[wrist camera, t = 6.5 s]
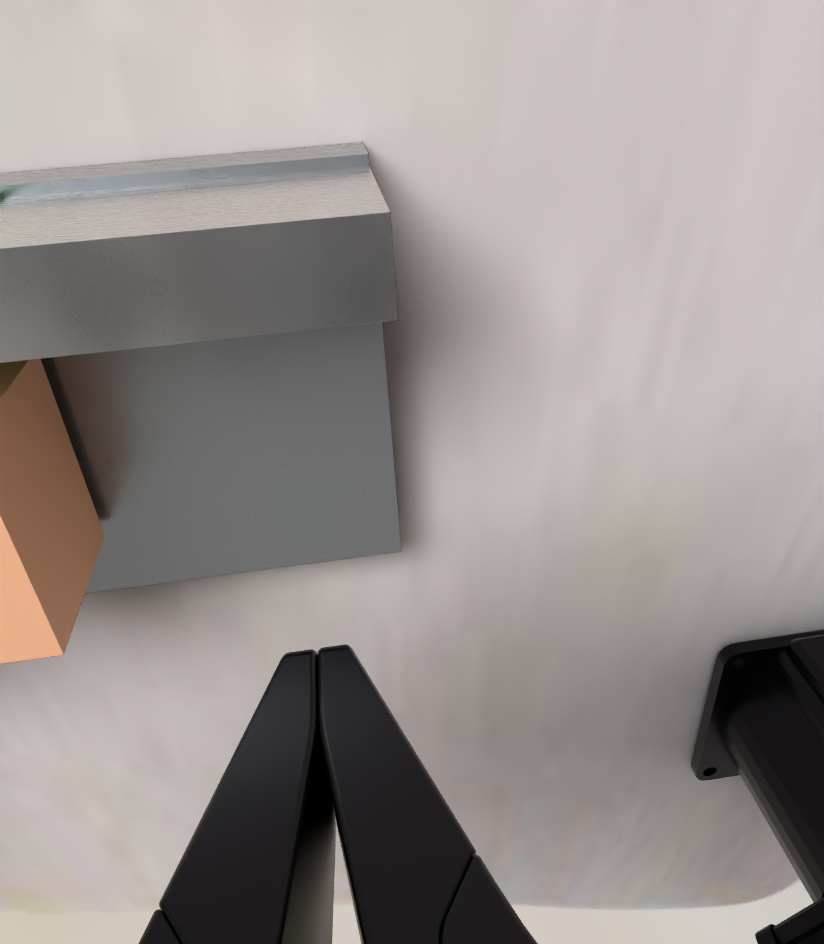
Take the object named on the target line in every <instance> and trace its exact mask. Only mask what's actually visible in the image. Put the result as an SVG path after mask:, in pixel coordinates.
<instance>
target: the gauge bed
mask: <svg viewBox="0 0 824 944" xmlns="http://www.w3.org/2000/svg"><path fill="white" fill-rule="evenodd" d="M390 321H398V314H397V300H396V286H395V272H394V258H393V243H392V229H391V215H390V210H389V208H388V206H387V204H386V202H385V199H384V197H383V195H382V193H381V191H380V188H379V186H378V184H377V182H376V180H375V177H374V175H373V173H372V171H371V169H370V167H369V157H368V152H367V150H366V148H365V146H364V144H363V142H361V143H350V144H338V145H326V146H314V147H303V148H291V149H279V150H267V151H256V152H244V153H232V154H221V155H209V156H197V157H185V158H174V159H162V160H150V161H139V162H127V163H115V164H103V165H92V166H80V167H68V168H57V169H45V170H33V171H21V172H10V173H0V363H4V362H13V361H22V360H32V359H41V362H42V365H43V367H44V370H45V373H46V376H47V378H48V381H49V384H50V387H51V389H52V392H53V395H54V398H55V400H56V403H57V406H58V409H59V411H60V414H61V417H62V420H63V422H64V425H65V428H66V431H67V433H68V436H69V439H70V442H71V444H72V447H73V450H74V453H75V455H76V458H77V461H78V464H79V466H80V469H81V472H82V474H83V477H84V480H85V483H86V485H87V488H88V491H89V494H90V496H91V499H92V502H93V505H94V507H95V510H96V513H97V516H98V518H99V521H100V524H101V527H102V529H103V532H104V538H103V541H102V544H101V547H100V550H99V553H98V556H97V559H96V562H95V565H94V567H93V570H92V573H91V576H90V579H89V582H88V585H87V588H86V591H85V593H92V592H99V591H107V590H115V589H122V588H130V587H137V586H145V585H152V584H160V583H167V582H175V581H182V580H190V579H198V578H205V577H213V576H220V575H228V574H235V573H243V572H250V571H258V570H265V569H273V568H281V567H288V566H296V565H303V564H311V563H318V562H326V561H333V560H341V559H348V558H356V557H363V556H371V555H379V554H386V553H394V552H401V541H400V529H399V517H398V505H397V493H396V481H395V469H394V457H393V445H392V433H391V421H390V409H389V397H388V385H387V373H386V361H385V349H384V337H383V325H382V322H390Z"/></svg>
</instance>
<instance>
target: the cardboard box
mask: <svg viewBox="0 0 824 944" xmlns="http://www.w3.org/2000/svg"><path fill="white" fill-rule="evenodd" d="M103 538H104V532H103V529H102V527H101V524H100V521H99V518H98V516H97V513H96V510H95V507H94V505H93V502H92V499H91V496H90V494H89V491H88V488H87V485H86V483H85V480H84V477H83V474H82V472H81V469H80V466H79V464H78V461H77V458H76V455H75V453H74V450H73V447H72V444H71V442H70V439H69V436H68V433H67V431H66V428H65V425H64V422H63V420H62V417H61V414H60V411H59V409H58V406H57V403H56V400H55V398H54V395H53V392H52V389H51V387H50V384H49V381H48V378H47V376H46V373H45V370H44V367H43V365H42V362H41V359H32V360H22V361H13V362H4V363H0V664H1V663H8V662H15V661H22V660H29V659H37V658H44V657H51V656H58V655H64V652H65V649H66V646H67V643H68V640H69V637H70V635H71V632H72V629H73V626H74V623H75V620H76V617H77V614H78V611H79V608H80V605H81V602H82V600H83V597H84V594H85V591H86V588H87V585H88V582H89V579H90V576H91V573H92V570H93V567H94V565H95V562H96V559H97V556H98V553H99V550H100V547H101V544H102V541H103Z"/></svg>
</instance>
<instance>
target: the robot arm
mask: <svg viewBox="0 0 824 944" xmlns="http://www.w3.org/2000/svg"><path fill="white" fill-rule="evenodd" d="M691 768H692V769H693V771H694V773H695V775H696V777H697V778H698V779H699V780H712V779H718V778H724V777H730V776H736V775H741V777H742V779H743V780H744V782H745V784H746V786H747V787H748V789H749V791H750V793H751V794H752V796H753V798H754V800H755V801H756V803H757V805H758V807H759V808H760V810H761V812H762V813H763V815H764V817H765V819H766V820H767V822H768V824H769V826H770V827H771V829H772V831H773V833H774V834H775V836H776V838H777V840H778V841H779V843H780V845H781V847H782V848H783V850H784V852H785V853H786V855H787V857H788V859H789V860H790V862H791V864H792V866H793V867H794V869H795V871H796V873H797V874H798V876H799V878H800V880H801V881H802V883H803V885H804V886H805V888H806V890H807V892H808V893H809V895H810V897H811V899H812V900H813V902H814V903H813V904H811V905H809V906H808V907H806V908H804V909H803V910H801V911H799V912H798V913H796V914H794V915H793V916H791V917H789V918H788V919H786V920H784V921H783V922H781V923H780V924H778V925H776V926H775V925H772V924H770V925H768V926H767V927H765V928H763V929H762V930H760V931H758V932H757V933H756V934H755V936H756V939H757V942H758V944H824V630H821V631H814V632H808V633H801V634H794V635H788V636H781V637H774V638H767V639H761V640H754V641H747V642H741V643H735V644H731V645H729V646H727V647H725V648H724V649H723V650H722V651H721V652H720V653H719V655H718V657H717V661H716V665H715V669H714V673H713V677H712V682H711V686H710V690H709V694H708V698H707V702H706V706H705V710H704V714H703V718H702V722H701V726H700V730H699V734H698V738H697V742H696V746H695V750H694V754H693V758H692V762H691ZM335 817H336V821H335ZM336 822H337V827H338V832H339V837H340V842H341V847H342V852H343V857H344V861H345V866H346V871H347V876H348V881H349V886H350V890H351V895H352V900H353V905H354V910H355V914H356V919H357V924H358V929H359V934H360V939H361V944H537V943H536V941H535V940H534V938H533V937H532V936H531V934H530V933H529V932H528V930H527V929H526V927H525V926H524V925H523V923H522V922H521V920H520V919H519V917H518V916H517V914H516V913H515V911H514V910H513V908H512V907H511V905H510V904H509V902H508V901H507V899H506V897H505V896H504V894H503V893H502V891H501V890H500V888H499V887H498V885H497V884H496V882H495V881H494V879H493V877H492V876H491V874H490V872H489V871H488V869H487V868H486V866H485V864H484V863H483V861H482V859H481V858H480V856H478V855H476V851H475V849H474V847H473V845H472V844H471V842H470V840H469V839H468V837H467V836H466V834H465V832H464V831H463V829H462V827H461V826H460V824H459V823H458V821H457V819H456V818H455V816H454V814H453V813H452V811H451V809H450V808H449V806H448V805H447V803H446V801H445V800H444V798H443V796H442V795H441V793H440V791H439V790H438V788H437V787H436V785H435V783H434V782H433V780H432V778H431V777H430V775H429V774H428V772H427V770H426V769H425V767H424V765H423V764H422V762H421V760H420V759H419V757H418V756H417V754H416V752H415V751H414V749H413V747H412V746H411V744H410V743H409V741H408V739H407V738H406V736H405V734H404V733H403V731H402V729H401V728H400V726H399V725H398V723H397V721H396V720H395V718H394V716H393V715H392V713H391V712H390V710H389V708H388V707H387V705H386V703H385V702H384V700H383V698H382V697H381V695H380V694H379V692H378V690H377V689H376V687H375V685H374V684H373V682H372V680H371V679H370V677H369V676H368V674H367V672H366V671H365V669H364V667H363V666H362V664H361V663H360V661H359V659H358V658H357V656H356V654H355V653H354V651H353V650H352V648H351V647H350V646H348V645H339V646H332V647H325V648H321V649H320V650H319V651H318V655H317V652H316V651H314V650H304V651H297V652H290V653H287V654H285V655H284V656H283V657H282V659H281V661H280V663H279V665H278V667H277V669H276V671H275V673H274V675H273V677H272V679H271V681H270V683H269V685H268V687H267V689H266V691H265V693H264V695H263V697H262V699H261V701H260V703H259V705H258V707H257V709H256V711H255V713H254V715H253V717H252V719H251V721H250V723H249V725H248V727H247V729H246V731H245V733H244V735H243V737H242V739H241V741H240V743H239V745H238V747H237V749H236V751H235V753H234V755H233V757H232V759H231V761H230V763H229V765H228V767H227V769H226V771H225V773H224V775H223V777H222V779H221V781H220V783H219V785H218V787H217V789H216V791H215V793H214V795H213V797H212V799H211V801H210V803H209V804H208V806H207V808H206V810H205V812H204V814H203V816H202V818H201V820H200V822H199V824H198V826H197V828H196V830H195V832H194V834H193V836H192V838H191V840H190V842H189V844H188V846H187V848H186V850H185V852H184V854H183V856H182V858H181V860H180V862H179V864H178V866H177V868H176V870H175V872H174V874H173V876H172V878H171V880H170V882H169V884H168V886H167V888H166V890H165V892H164V894H163V896H162V898H161V900H160V903H159V906H160V909H161V910H156V911H155V912H154V914H153V916H152V918H151V920H150V922H149V924H148V926H147V928H146V930H145V932H144V934H143V936H142V938H141V940H140V942H139V944H332V926H333V898H334V870H335V838H336Z"/></svg>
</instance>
